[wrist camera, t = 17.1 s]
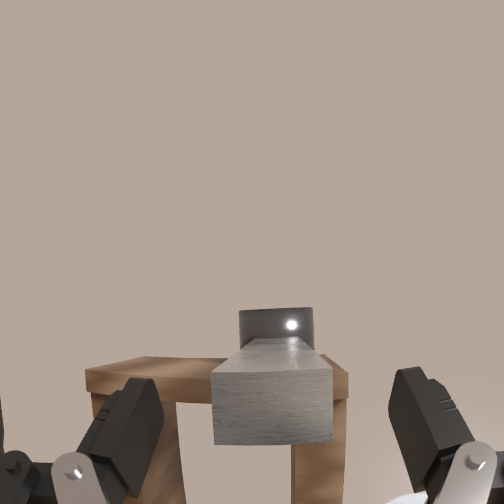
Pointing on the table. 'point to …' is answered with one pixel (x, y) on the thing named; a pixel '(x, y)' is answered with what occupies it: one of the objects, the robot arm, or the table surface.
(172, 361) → the shelf
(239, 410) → the steel link
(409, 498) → the table surface
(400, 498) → the table surface
